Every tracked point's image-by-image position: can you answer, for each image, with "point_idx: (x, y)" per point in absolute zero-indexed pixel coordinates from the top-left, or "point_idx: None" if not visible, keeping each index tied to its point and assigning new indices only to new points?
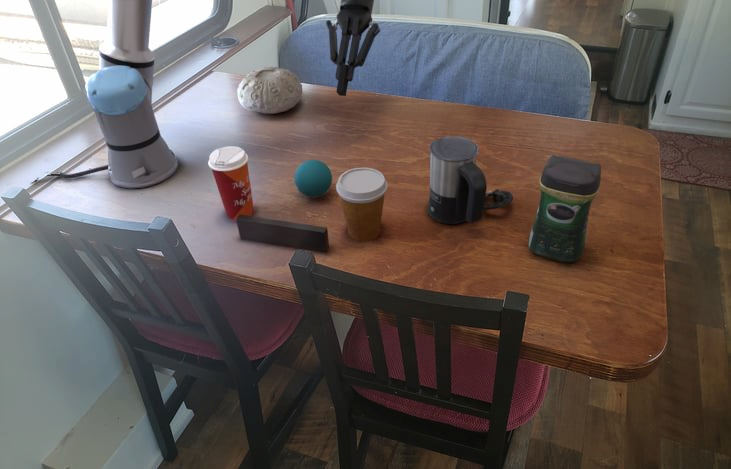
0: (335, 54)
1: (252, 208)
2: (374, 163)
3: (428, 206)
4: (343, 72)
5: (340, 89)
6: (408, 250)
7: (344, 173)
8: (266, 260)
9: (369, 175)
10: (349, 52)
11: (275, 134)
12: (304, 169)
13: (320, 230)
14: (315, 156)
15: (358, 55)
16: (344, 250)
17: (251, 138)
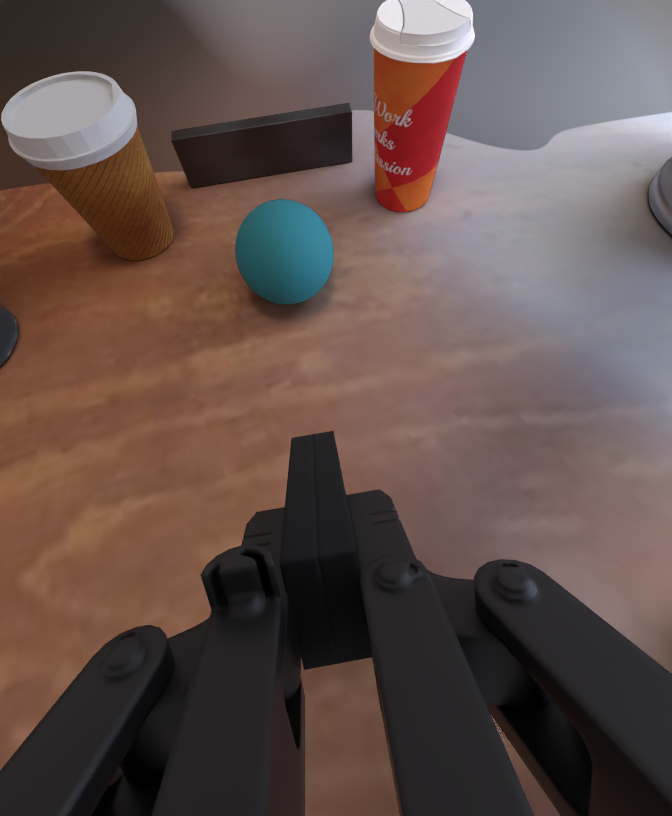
0: (525, 663)
1: (376, 188)
2: (198, 462)
3: (13, 333)
4: (309, 505)
5: (308, 443)
6: (51, 229)
7: (110, 105)
8: None
9: (48, 128)
10: (270, 749)
11: (621, 497)
12: (285, 199)
13: (180, 131)
14: (391, 426)
15: (99, 734)
16: (163, 193)
17: (668, 439)
